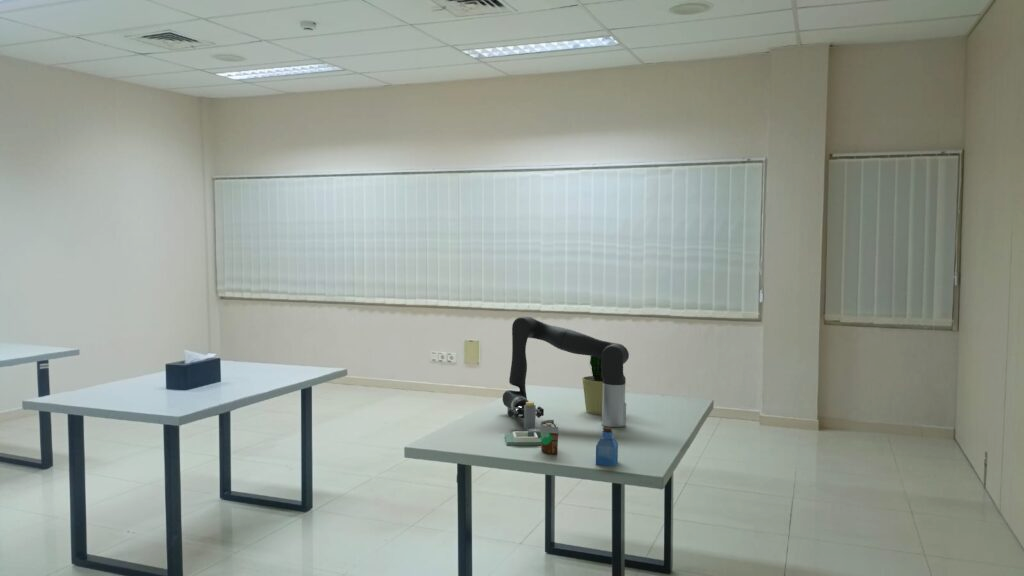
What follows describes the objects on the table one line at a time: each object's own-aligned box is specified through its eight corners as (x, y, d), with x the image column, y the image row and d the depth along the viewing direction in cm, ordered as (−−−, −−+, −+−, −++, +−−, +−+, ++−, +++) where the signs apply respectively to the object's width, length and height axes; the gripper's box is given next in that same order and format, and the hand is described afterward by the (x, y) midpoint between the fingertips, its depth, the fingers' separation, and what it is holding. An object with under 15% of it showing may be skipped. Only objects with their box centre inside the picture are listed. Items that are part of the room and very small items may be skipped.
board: (541, 436, 281) (541, 428, 281) (545, 445, 269) (545, 436, 268) (504, 437, 280) (504, 428, 280) (507, 445, 268) (507, 436, 267)
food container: (536, 446, 267) (536, 419, 266) (553, 446, 267) (553, 419, 267) (540, 456, 254) (540, 427, 254) (558, 456, 255) (558, 427, 255)
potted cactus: (580, 414, 321) (581, 346, 319) (582, 407, 336) (583, 341, 334) (616, 416, 318) (617, 347, 317) (616, 408, 334) (618, 343, 332)
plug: (534, 432, 288) (535, 401, 287) (535, 435, 284) (536, 403, 283) (523, 432, 288) (523, 401, 287) (524, 435, 283) (524, 403, 283)
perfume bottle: (617, 461, 249) (618, 426, 249) (614, 466, 244) (614, 430, 243) (599, 459, 251) (600, 424, 251) (595, 464, 246) (596, 429, 245)
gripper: (504, 398, 302) (510, 406, 286) (538, 397, 305) (546, 405, 289) (504, 416, 303) (510, 425, 287) (538, 415, 305) (546, 424, 289)
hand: (528, 415), depth 288 cm, fingers open, 8 cm apart
